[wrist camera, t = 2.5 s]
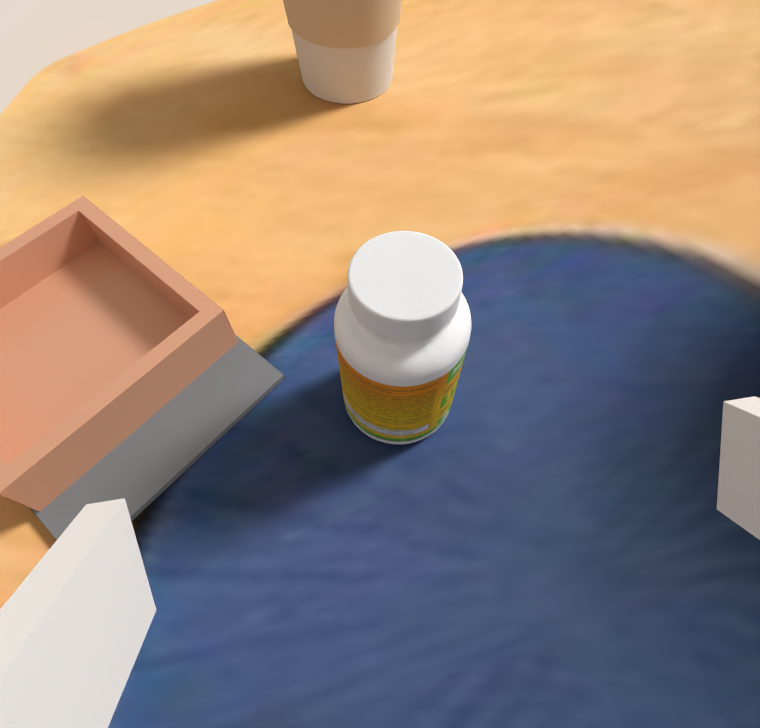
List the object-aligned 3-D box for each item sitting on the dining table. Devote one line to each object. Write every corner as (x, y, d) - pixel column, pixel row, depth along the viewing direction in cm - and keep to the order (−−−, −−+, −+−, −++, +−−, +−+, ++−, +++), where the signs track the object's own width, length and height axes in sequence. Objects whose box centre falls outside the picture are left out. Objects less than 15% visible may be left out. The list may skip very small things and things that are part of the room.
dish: (238, 342, 27) (223, 310, 25) (39, 511, 23) (-2, 493, 21) (107, 233, 31) (82, 195, 29) (-85, 362, 27) (-133, 331, 24)
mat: (284, 378, 27) (283, 374, 26) (82, 567, 22) (77, 565, 22) (101, 226, 32) (98, 221, 32) (-94, 355, 28) (-100, 351, 27)
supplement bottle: (453, 449, 25) (490, 342, 17) (340, 445, 25) (319, 337, 17) (449, 351, 28) (480, 216, 19) (347, 348, 28) (333, 212, 19)
